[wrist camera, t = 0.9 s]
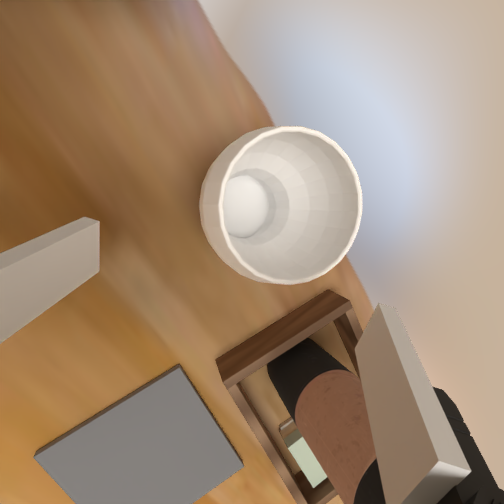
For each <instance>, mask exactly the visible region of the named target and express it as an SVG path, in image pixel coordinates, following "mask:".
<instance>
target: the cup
mask: <svg viewBox="0 0 504 504" xmlns="http://www.w3.org/2000/svg"><path fill="white" fill-rule="evenodd" d="M199 210H200V219H201V225H202V228H203V230H204V233H205V235H206V238H207V241H208V243H209V244H210V245H211V247H212V248H213V250H214V251H215V252H216V254H217V255H218V256H219V258H220V259H222V260H223V261H224V262H225V263H226V264H227V265H228V266H230V267H231V268H232V269H234V270H235V271H236V272H237V273H239V274H240V275H242V276H245V277H247V278H250V279H252V280H255V281H257V282H265V283H275V284H287V285H292V284H298V283H304V282H309V281H311V280H313V279H315V278H317V277H320V276H322V275H324V274H326V273H327V272H328V271H329V270H330V269H332V268H333V267H334V266H335V265H337V264H338V263H339V262H340V261H341V259H342V258H343V257H344V256H345V254H346V253H347V252H348V250H349V249H350V248H351V246H352V243H353V241H354V239H355V237H356V234H357V232H358V230H359V225H360V220H361V215H362V191H361V187H360V182H359V178H358V174H357V172H356V170H355V168H354V166H353V164H352V162H351V160H350V158H349V156H347V154H346V153H345V152H344V151H343V150H342V149H341V148H340V146H339V145H338V144H337V143H336V142H335V141H333V140H332V139H330V138H329V137H327V136H325V135H324V134H322V133H321V132H319V131H316V130H312V129H309V128H305V127H302V126H279V127H264V128H261V129H258V130H255V131H251V132H248V133H245V134H244V135H243V136H241V137H240V138H238V139H237V140H235V141H234V142H232V143H231V144H230V145H228V146H227V147H226V148H225V149H224V150H223V151H222V152H221V153H220V155H219V156H218V157H217V158H216V160H215V161H214V162H213V163H212V164H211V166H210V167H209V170H208V172H207V174H206V177H205V179H204V181H203V183H202V187H201V194H200V201H199Z"/></svg>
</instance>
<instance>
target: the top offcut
mask: <svg viewBox="0 0 504 504" xmlns="http://www.w3.org/2000/svg"><path fill="white" fill-rule="evenodd" d="M283 440H284V441H285V443H286V445H287V447H288V449H289V451H290V452H291V454H292V455H293V457H294V458H295V460H296V462H297V463H298V465H299V466H300V468H301V469H302V471H303V472H304V474H305V476H306V477H307V479H308V480H309V482H310V483H311V485H312V487H313V488H314V487H316V486H317V485H318V484H319V483H321V482H322V481H323V480H324V479H326V478H327V475H326V474H325V472H324V470H323V469H322V467H321V465H320V464H319V462H318V461H317V459H316V457H315V456H314V454H313V453H312V451H311V449H310V448H309V446H308V444H307V443H306V441H305V440H304V438H303V436H302V435H301V433H300V432H299V430H298V428H297V429H296V430H295V431H293V432H292V433H291V434H289V435H288V436H287V437H285V438H284V439H283Z"/></svg>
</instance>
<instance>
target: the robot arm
mask: <svg viewBox="0 0 504 504" xmlns="http://www.w3.org/2000/svg"><path fill="white" fill-rule="evenodd" d="M99 248H100V221H97V220H94V219H90V218H87V217H82V218H80V219H78V220H75V221H73V222H71V223H69V224H66V225H64V226H62V227H59V228H57V229H55V230H53V231H50V232H48V233H46V234H43V235H41V236H39V237H37V238H34V239H32V240H30V241H27V242H25V243H23V244H21V245H18V246H16V247H14V248H11V249H9V250H7V251H4V252H2V253H0V344H1V343H2V342H3V341H5V340H6V339H8V338H9V337H10V336H12V335H13V334H14V333H16V332H17V331H19V330H20V329H21V328H23V327H24V326H25V325H27V324H28V323H29V322H31V321H32V320H34V319H35V318H36V317H38V316H39V315H40V314H42V313H43V312H45V311H46V310H47V309H49V308H50V307H51V306H53V305H54V304H55V303H57V302H58V301H60V300H61V299H62V298H64V297H65V296H66V295H68V294H69V293H71V292H72V291H73V290H75V289H76V288H77V287H79V286H80V285H81V284H83V283H84V282H86V281H87V280H88V279H90V278H91V277H92V276H94V275H95V274H97V273H98V272H99ZM355 353H356V358H357V363H358V368H359V373H360V378H361V383H362V388H363V393H364V398H365V403H366V408H367V413H368V417H369V422H370V427H371V432H372V437H373V442H374V447H375V452H376V457H377V462H378V467H379V472H380V477H381V482H382V486H383V491H384V496H385V501H386V504H504V491H503V490H501V489H499V488H498V486H497V484H496V482H495V480H494V478H493V476H492V474H491V472H490V470H489V468H488V466H487V464H486V462H485V460H484V459H483V457H482V455H481V453H480V451H479V449H478V447H477V445H476V443H475V442H474V439H473V437H472V436H470V431H469V430H468V428H467V426H466V424H465V423H464V422H463V421H464V420H463V418H462V416H461V414H460V412H459V410H458V408H457V406H456V405H455V404H454V402H453V401H452V400H451V399H450V398H449V397H448V395H447V394H446V393H445V392H444V391H443V390H442V389H438V388H435V387H432V385H431V383H430V381H429V379H428V377H427V375H426V372H425V370H424V368H423V366H422V364H421V362H420V359H419V357H418V355H417V353H416V351H415V349H414V346H413V344H412V343H411V340H410V338H409V336H408V334H407V331H406V329H405V327H404V325H403V323H402V321H401V318H400V316H399V314H398V312H397V310H396V308H394V307H390V306H387V305H383V304H380V303H378V305H377V307H376V309H375V311H374V313H373V315H372V316H371V318H370V320H369V322H368V324H367V326H366V328H365V330H364V332H363V334H362V336H361V338H360V340H359V341H358V343H357V345H356V347H355Z"/></svg>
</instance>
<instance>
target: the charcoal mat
mask: <svg viewBox="0 0 504 504" xmlns="http://www.w3.org/2000/svg"><path fill="white" fill-rule="evenodd" d="M33 458H34V459H35V460H36V461H37V462H38V463H39V464H40V465H41V466H42V468H43V469H44V470H45V471H46V472H47V473H48V474H49V475H50V476H51V477H52V478H53V479H54V481H55V482H56V483H57V484H58V485H59V486H60V487H61V488H62V489H63V490H64V491H65V492H66V494H67V495H68V496H69V497H70V498H71V499H72V500H73V501H74V502H75V503H76V504H192V503H194V502H195V501H197V500H198V499H199V498H201V497H202V496H204V495H205V494H206V493H208V492H209V491H211V490H212V489H213V488H215V487H216V486H218V485H219V484H220V483H222V482H223V481H225V480H226V479H227V478H229V477H230V476H232V475H233V474H234V473H236V472H237V471H239V470H240V469H241V468H243V467H244V465H243V461H242V460H241V458H240V457H239V455H238V454H237V452H236V451H235V449H234V447H233V446H232V444H231V443H230V441H229V440H228V438H227V437H226V435H225V434H224V432H223V431H222V429H221V427H220V426H219V424H218V423H217V421H216V420H215V418H214V417H213V415H212V414H211V412H210V411H209V409H208V407H207V406H206V404H205V403H204V401H203V400H202V398H201V397H200V395H199V394H198V392H197V391H196V389H195V387H194V386H193V384H192V383H191V381H190V380H189V378H188V377H187V375H186V374H185V372H184V371H183V369H182V367H181V366H180V364H178V365H176V366H175V367H173V368H171V369H170V370H168V371H166V372H165V373H163V374H162V375H160V376H158V377H157V378H155V379H153V380H152V381H150V382H148V383H147V384H145V385H144V386H142V387H140V388H139V389H137V390H135V391H134V392H132V393H131V394H129V395H127V396H126V397H124V398H122V399H121V400H119V401H117V402H116V403H114V404H113V405H111V406H109V407H108V408H106V409H104V410H103V411H101V412H99V413H98V414H96V415H95V416H93V417H91V418H90V419H88V420H86V421H85V422H83V423H81V424H80V425H78V426H77V427H75V428H73V429H72V430H70V431H68V432H67V433H65V434H64V435H62V436H60V437H59V438H57V439H55V440H54V441H52V442H50V443H49V444H47V445H46V446H44V447H42V448H41V449H39V450H37V451H36V453H35V455H34V457H33Z"/></svg>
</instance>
